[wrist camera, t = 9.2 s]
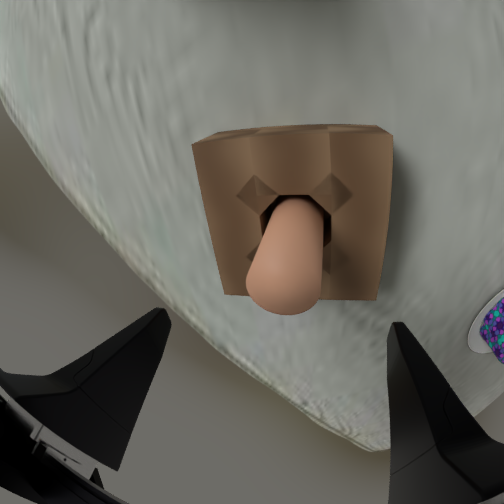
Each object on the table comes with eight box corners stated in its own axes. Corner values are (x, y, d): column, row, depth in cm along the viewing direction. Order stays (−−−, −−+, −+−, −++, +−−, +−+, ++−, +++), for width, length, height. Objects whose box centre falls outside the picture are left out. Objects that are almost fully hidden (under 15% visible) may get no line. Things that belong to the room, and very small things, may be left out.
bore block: (376, 125, 15) (392, 135, 12) (369, 263, 21) (376, 300, 17) (218, 132, 18) (191, 144, 14) (240, 260, 24) (224, 294, 20)
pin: (322, 182, 17) (321, 257, 10) (323, 225, 19) (319, 316, 12) (276, 183, 18) (240, 255, 11) (280, 225, 20) (251, 312, 13)
